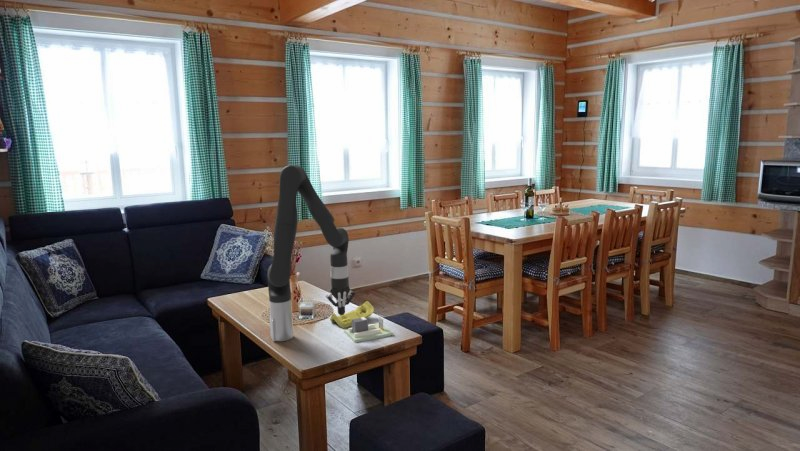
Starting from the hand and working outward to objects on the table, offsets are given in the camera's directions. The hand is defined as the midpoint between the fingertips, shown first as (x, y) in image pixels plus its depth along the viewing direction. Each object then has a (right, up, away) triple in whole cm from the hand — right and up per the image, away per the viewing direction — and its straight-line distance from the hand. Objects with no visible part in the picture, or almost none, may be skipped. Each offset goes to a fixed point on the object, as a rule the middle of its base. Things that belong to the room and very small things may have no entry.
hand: (341, 314), depth 233 cm
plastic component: (+3, -7, +23) cm, 24 cm away
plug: (+8, -9, +5) cm, 13 cm away
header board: (+11, -10, +7) cm, 16 cm away
